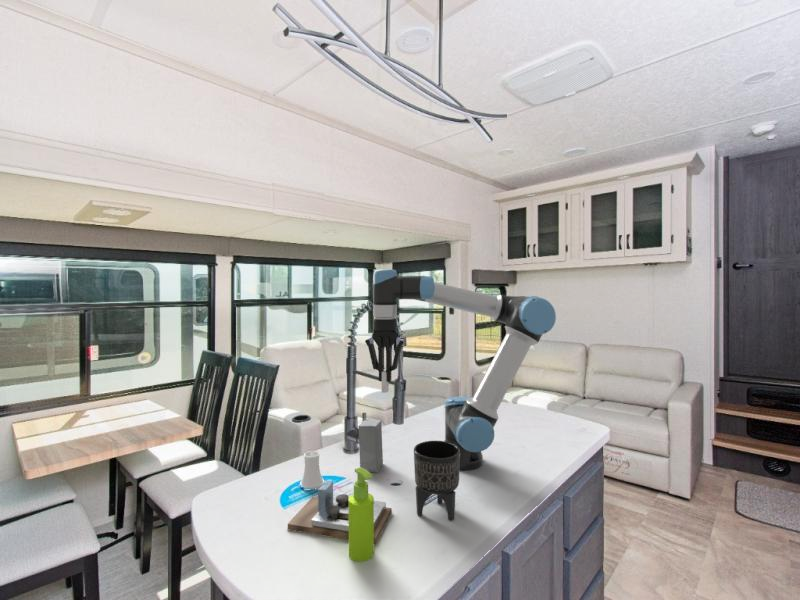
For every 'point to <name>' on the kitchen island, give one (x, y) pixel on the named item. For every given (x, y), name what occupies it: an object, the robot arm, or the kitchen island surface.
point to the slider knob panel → (329, 499)
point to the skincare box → (370, 445)
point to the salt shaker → (312, 471)
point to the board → (313, 510)
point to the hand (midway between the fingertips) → (385, 391)
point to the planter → (436, 473)
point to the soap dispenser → (361, 519)
